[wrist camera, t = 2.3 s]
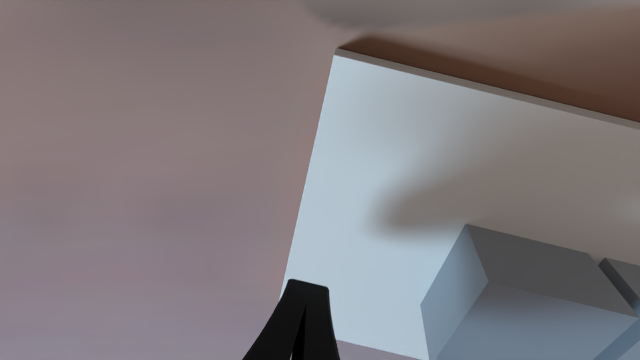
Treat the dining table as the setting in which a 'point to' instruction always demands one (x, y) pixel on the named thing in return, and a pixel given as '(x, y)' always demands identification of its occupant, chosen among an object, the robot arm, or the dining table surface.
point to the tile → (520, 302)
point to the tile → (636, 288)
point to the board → (448, 188)
